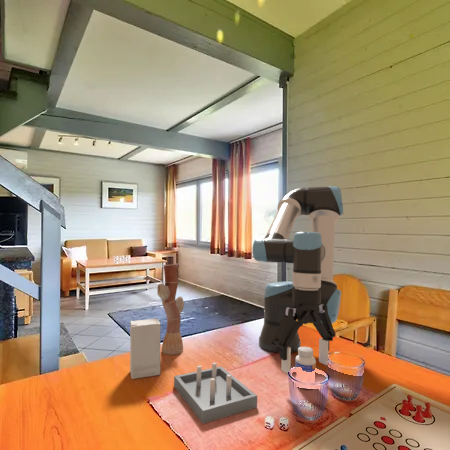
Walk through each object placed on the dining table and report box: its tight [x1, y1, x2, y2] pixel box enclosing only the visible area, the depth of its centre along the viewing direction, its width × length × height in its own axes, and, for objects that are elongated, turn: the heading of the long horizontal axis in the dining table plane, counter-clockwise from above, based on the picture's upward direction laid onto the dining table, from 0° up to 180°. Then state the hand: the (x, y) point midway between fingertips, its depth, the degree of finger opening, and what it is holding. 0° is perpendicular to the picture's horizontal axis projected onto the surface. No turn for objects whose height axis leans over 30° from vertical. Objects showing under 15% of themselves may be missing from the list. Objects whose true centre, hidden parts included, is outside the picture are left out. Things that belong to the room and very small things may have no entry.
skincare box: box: [129, 318, 162, 380], centre depth 89 cm, size 8×6×15 cm
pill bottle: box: [295, 346, 317, 372], centre depth 84 cm, size 5×5×10 cm
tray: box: [173, 362, 258, 424], centre depth 77 cm, size 18×14×6 cm
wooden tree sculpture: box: [156, 263, 185, 356], centre depth 106 cm, size 10×7×30 cm
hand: (305, 367), depth 83 cm, fingers open, 13 cm apart
